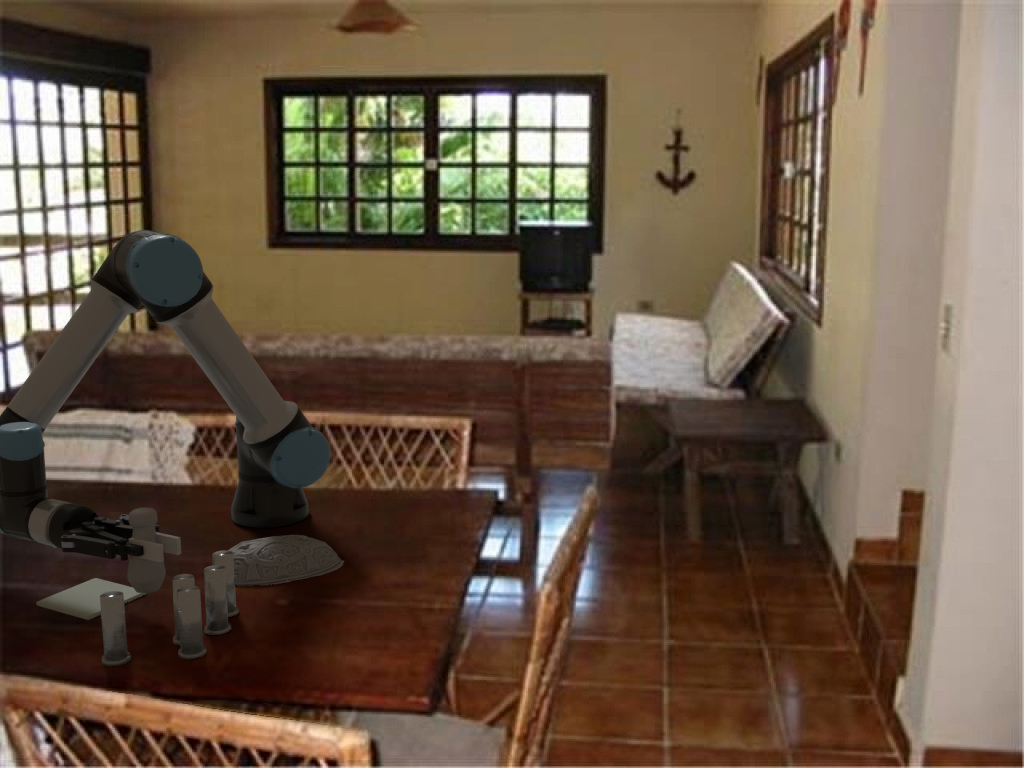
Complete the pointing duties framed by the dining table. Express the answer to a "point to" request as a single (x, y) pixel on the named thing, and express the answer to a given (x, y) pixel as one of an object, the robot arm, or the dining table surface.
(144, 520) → the salt shaker
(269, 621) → the dining table surface
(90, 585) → the coaster
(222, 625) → the spacers
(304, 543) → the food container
